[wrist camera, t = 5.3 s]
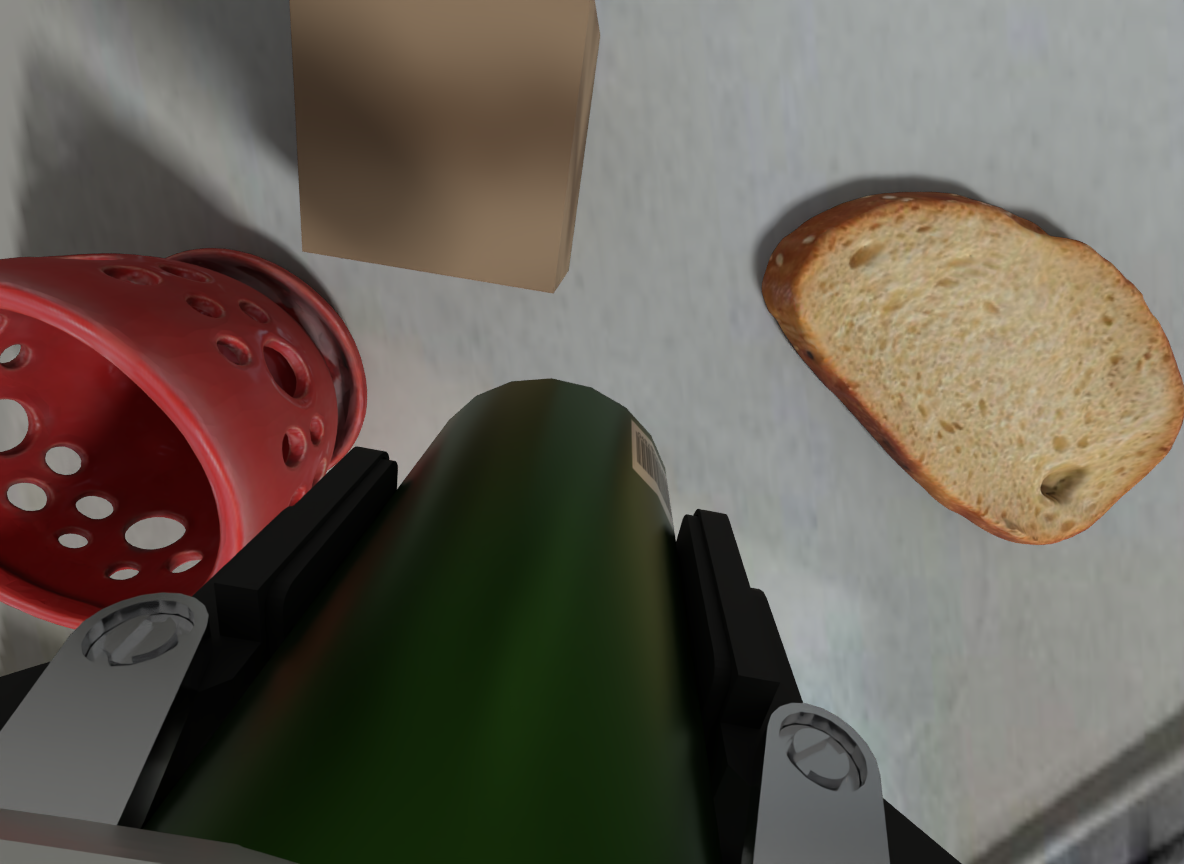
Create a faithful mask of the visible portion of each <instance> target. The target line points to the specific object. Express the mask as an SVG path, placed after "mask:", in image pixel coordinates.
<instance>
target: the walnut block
mask: <svg viewBox="0 0 1184 864" xmlns="http://www.w3.org/2000/svg"><path fill="white" fill-rule="evenodd" d="M290 20H291V39H292V58H293V78H294V97H295V116H296V136H297V155H298V174H299V194H300V213H301V232H302V251H303V252H309V253H315V254H321V255H327V256H333V257H339V258H345V259H351V260H357V261H363V262H369V263H375V264H381V265H387V266H393V267H399V268H405V269H411V270H417V271H423V272H429V273H435V274H441V275H447V276H453V277H459V278H465V279H471V280H477V281H483V282H489V283H495V284H501V285H506V286H512V287H518V288H524V289H530V290H536V291H542V292H548V293H554V292H555V290H556V289H557V287H558V286H559V284H560V283H561V281H562V280H563V278H564V277H565V275H566V274H567V272H568V271H569V263H570V256H571V248H572V241H573V234H574V226H575V219H576V211H577V204H578V196H579V189H580V181H581V174H582V167H583V159H584V152H585V144H586V137H587V129H588V122H589V115H590V107H591V100H592V92H593V85H594V77H595V70H596V62H597V55H598V48H599V40H600V32H599V25H598V19H597V12H596V6H595V0H290Z"/></svg>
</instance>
